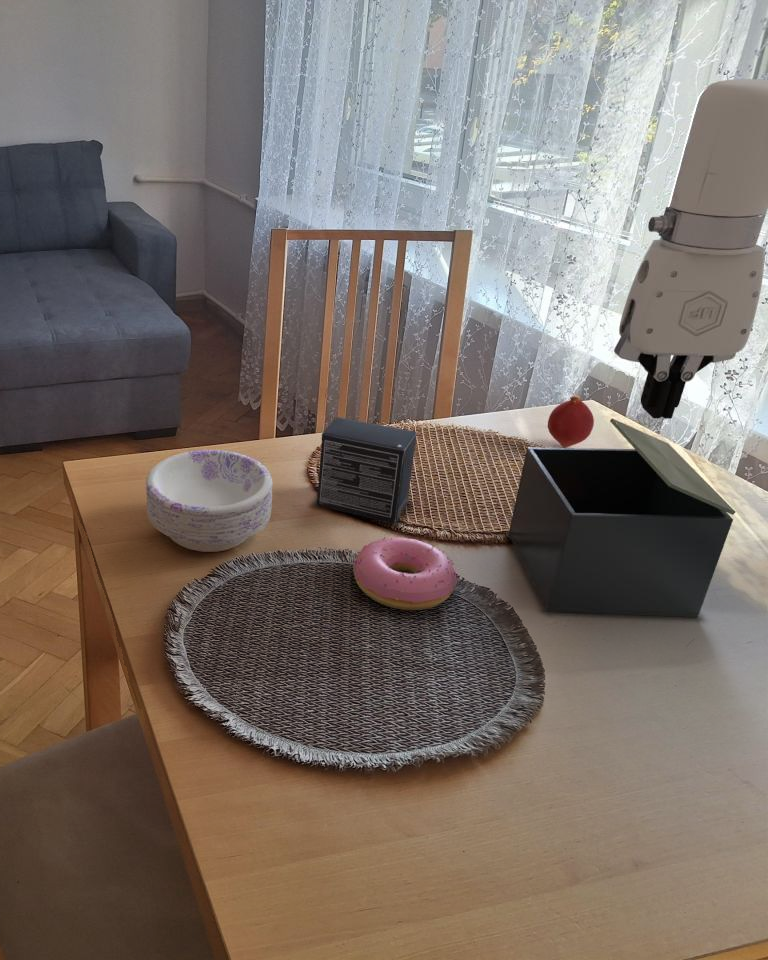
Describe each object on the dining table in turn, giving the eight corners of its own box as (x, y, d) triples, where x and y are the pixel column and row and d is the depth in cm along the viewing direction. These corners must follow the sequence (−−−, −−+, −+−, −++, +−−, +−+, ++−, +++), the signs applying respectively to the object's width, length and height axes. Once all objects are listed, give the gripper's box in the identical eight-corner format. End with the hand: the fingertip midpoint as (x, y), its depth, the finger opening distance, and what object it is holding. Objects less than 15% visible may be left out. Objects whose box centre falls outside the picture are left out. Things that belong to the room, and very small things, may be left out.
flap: (665, 446, 96) (668, 443, 96) (733, 515, 83) (736, 512, 83) (609, 420, 96) (611, 418, 95) (668, 486, 83) (671, 483, 82)
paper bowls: (131, 555, 103) (128, 498, 99) (166, 494, 115) (166, 441, 111) (256, 576, 98) (259, 517, 94) (279, 510, 111) (283, 455, 107)
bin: (638, 539, 102) (665, 449, 97) (698, 617, 89) (733, 519, 84) (508, 535, 104) (527, 447, 98) (547, 611, 91) (572, 515, 85)
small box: (409, 502, 111) (420, 429, 106) (395, 526, 107) (406, 451, 101) (330, 484, 116) (337, 413, 111) (314, 506, 111) (320, 433, 106)
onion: (555, 434, 127) (567, 384, 123) (594, 446, 123) (608, 395, 119) (535, 446, 124) (546, 395, 120) (575, 459, 120) (588, 407, 116)
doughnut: (407, 630, 89) (412, 598, 87) (330, 580, 97) (333, 550, 95) (475, 593, 94) (481, 562, 92) (396, 549, 102) (400, 519, 100)
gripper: (640, 239, 76) (592, 427, 84) (823, 239, 74) (754, 430, 83) (608, 220, 82) (566, 397, 91) (775, 219, 81) (716, 399, 89)
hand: (656, 412), depth 87 cm, fingers closed
